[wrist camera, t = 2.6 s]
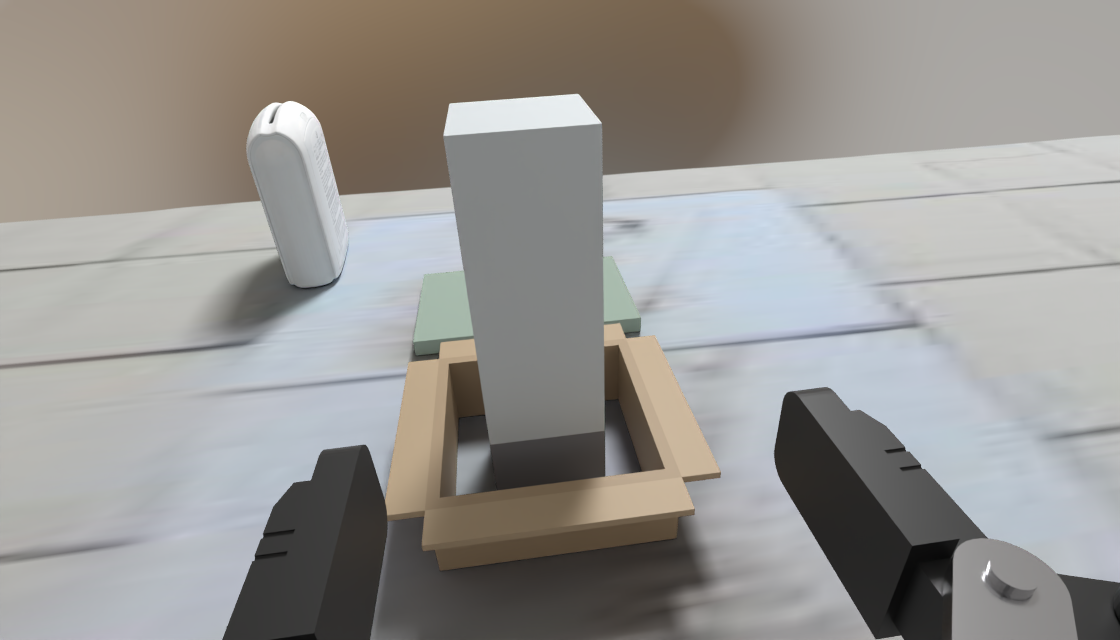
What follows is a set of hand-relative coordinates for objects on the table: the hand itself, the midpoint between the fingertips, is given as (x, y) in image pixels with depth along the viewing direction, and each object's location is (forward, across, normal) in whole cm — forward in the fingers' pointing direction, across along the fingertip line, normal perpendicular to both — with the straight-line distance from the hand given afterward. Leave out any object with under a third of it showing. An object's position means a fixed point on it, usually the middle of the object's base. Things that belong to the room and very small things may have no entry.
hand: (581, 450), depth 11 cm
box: (+12, 0, +12) cm, 17 cm away
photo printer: (+38, +16, +12) cm, 43 cm away
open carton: (+12, 0, +12) cm, 17 cm away
